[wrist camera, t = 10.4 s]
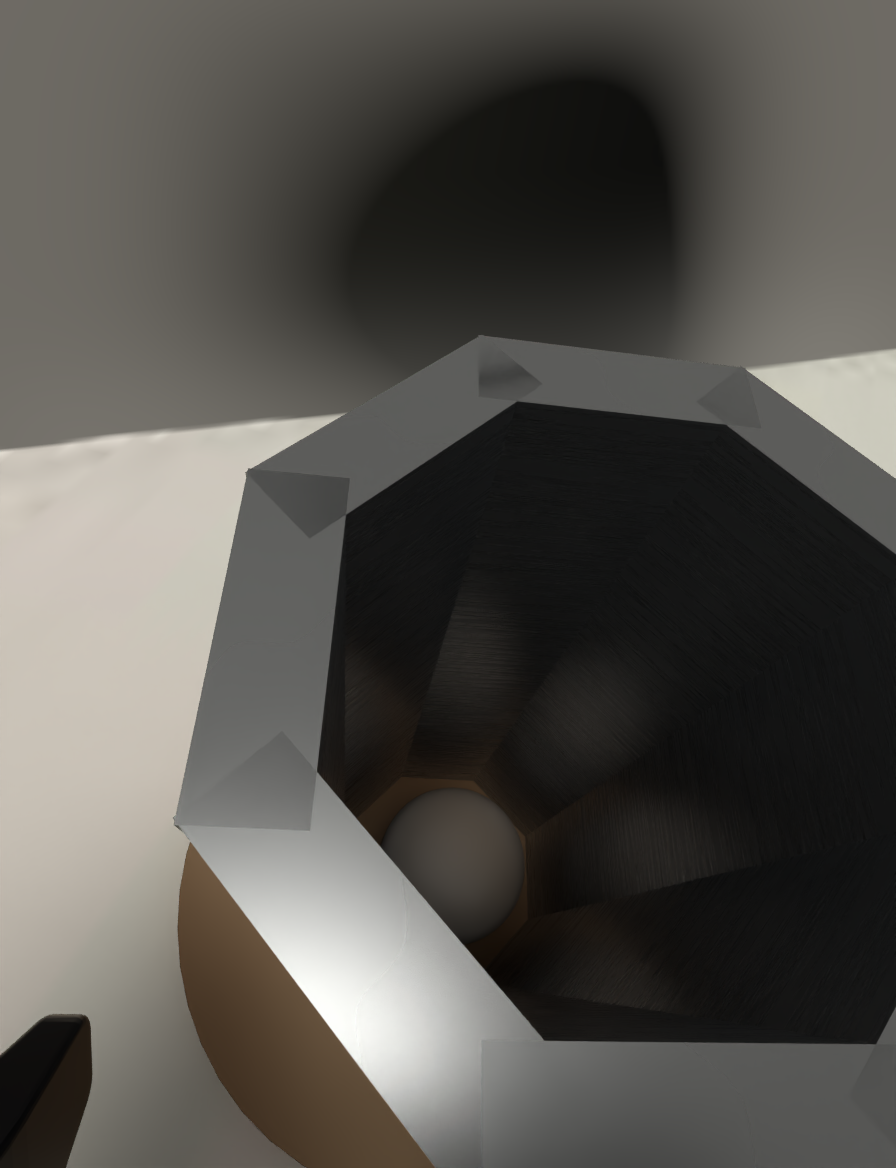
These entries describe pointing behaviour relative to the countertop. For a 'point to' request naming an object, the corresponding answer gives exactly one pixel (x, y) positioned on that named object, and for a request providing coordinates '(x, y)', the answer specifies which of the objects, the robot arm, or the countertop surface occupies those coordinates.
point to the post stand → (288, 1018)
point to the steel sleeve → (577, 756)
